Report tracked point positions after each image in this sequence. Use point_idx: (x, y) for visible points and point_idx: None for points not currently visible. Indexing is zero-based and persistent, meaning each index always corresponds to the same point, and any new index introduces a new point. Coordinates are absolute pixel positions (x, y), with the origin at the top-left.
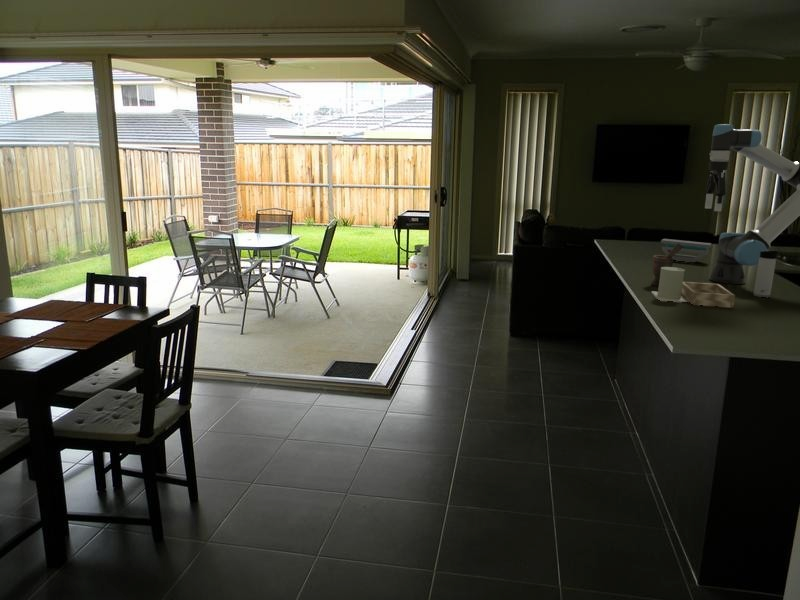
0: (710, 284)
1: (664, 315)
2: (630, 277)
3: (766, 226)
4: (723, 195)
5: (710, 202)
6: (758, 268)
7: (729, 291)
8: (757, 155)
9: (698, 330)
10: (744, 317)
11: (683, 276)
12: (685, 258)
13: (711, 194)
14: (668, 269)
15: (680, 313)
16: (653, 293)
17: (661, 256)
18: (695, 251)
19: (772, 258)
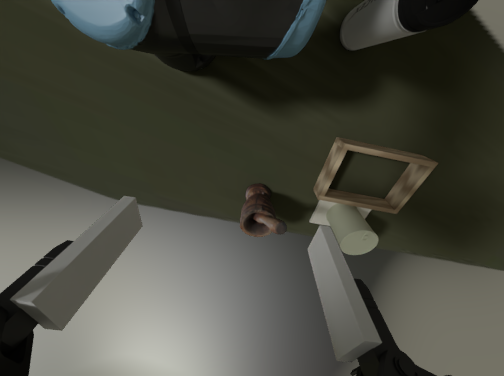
0: (342, 159)
1: (419, 246)
2: (206, 211)
3: None
4: (409, 359)
5: (109, 236)
6: (388, 39)
7: (409, 157)
8: None
9: (485, 240)
10: (474, 168)
11: (367, 225)
12: None
13: (45, 305)
14: (361, 249)
15: (418, 230)
16: (323, 224)
17: (244, 221)
18: None
19: None
